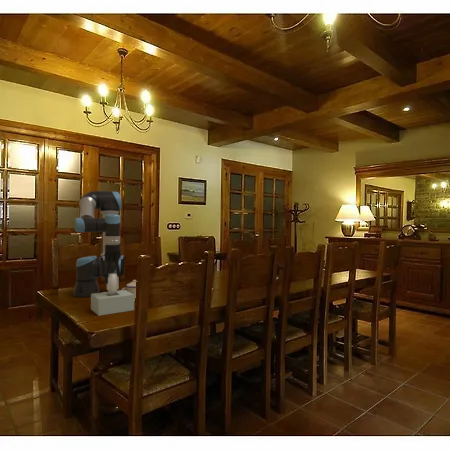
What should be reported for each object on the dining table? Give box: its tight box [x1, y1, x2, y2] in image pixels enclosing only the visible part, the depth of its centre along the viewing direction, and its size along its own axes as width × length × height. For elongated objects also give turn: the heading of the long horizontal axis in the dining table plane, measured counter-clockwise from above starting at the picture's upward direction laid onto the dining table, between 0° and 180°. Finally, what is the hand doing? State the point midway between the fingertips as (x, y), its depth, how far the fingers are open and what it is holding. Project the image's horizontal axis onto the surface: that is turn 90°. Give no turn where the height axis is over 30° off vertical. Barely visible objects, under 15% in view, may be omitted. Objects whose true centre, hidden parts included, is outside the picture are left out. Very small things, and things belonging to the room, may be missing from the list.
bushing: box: [107, 273, 118, 296], centre depth 176 cm, size 4×4×11 cm
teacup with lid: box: [121, 279, 137, 303], centre depth 197 cm, size 12×9×12 cm
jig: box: [90, 289, 135, 317], centre depth 176 cm, size 14×18×8 cm
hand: (112, 289), depth 176 cm, fingers closed on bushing, 4 cm apart
